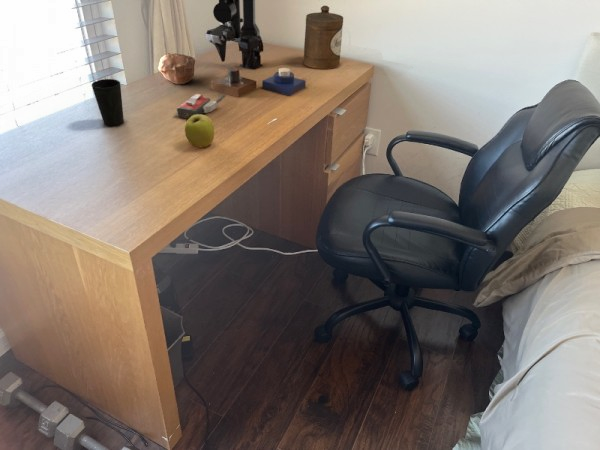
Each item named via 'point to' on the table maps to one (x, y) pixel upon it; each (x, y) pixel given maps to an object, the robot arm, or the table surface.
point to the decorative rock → (177, 67)
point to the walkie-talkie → (197, 106)
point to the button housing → (284, 84)
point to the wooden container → (323, 39)
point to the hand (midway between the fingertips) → (233, 64)
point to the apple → (199, 130)
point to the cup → (109, 101)
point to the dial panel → (234, 86)
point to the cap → (284, 72)
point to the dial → (233, 75)
